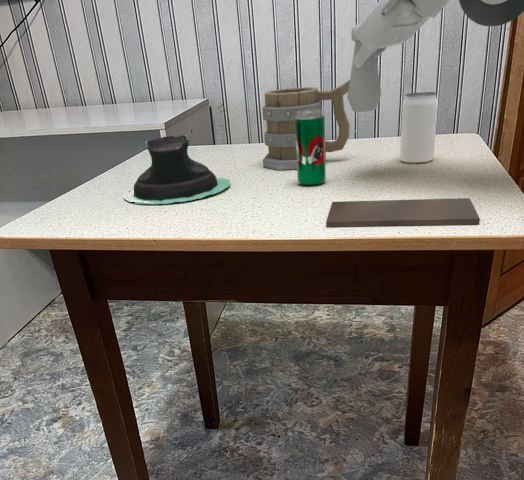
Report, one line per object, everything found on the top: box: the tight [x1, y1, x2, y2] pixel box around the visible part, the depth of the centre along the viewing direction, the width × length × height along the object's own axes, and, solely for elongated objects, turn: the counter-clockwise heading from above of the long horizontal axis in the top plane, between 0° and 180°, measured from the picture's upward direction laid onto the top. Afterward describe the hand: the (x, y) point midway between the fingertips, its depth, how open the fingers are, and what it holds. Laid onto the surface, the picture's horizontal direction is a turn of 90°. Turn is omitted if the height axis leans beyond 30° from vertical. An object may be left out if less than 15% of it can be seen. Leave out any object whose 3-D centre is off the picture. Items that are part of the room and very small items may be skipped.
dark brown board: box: [325, 197, 481, 228], centre depth 76 cm, size 20×10×1 cm, turn 79°
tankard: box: [262, 79, 351, 171], centre depth 109 cm, size 20×13×15 cm, turn 80°
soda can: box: [295, 109, 327, 187], centre depth 94 cm, size 5×5×12 cm
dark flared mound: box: [132, 134, 231, 205], centre depth 98 cm, size 15×19×20 cm
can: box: [399, 91, 439, 164], centre depth 103 cm, size 6×6×12 cm
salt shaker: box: [346, 23, 382, 113], centre depth 91 cm, size 6×6×13 cm
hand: (360, 64), depth 91 cm, fingers closed on salt shaker, 3 cm apart
